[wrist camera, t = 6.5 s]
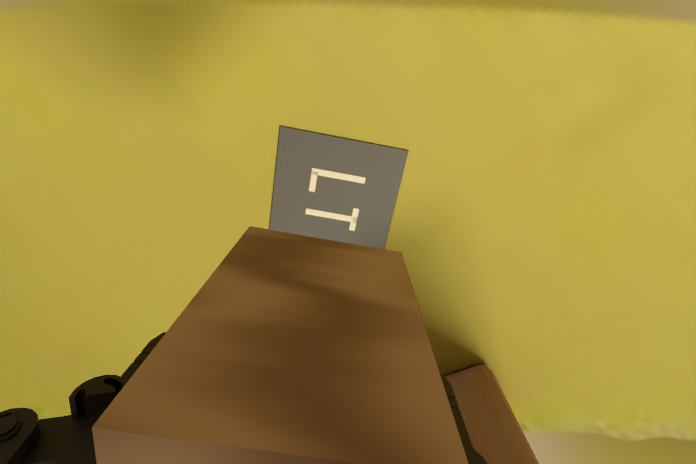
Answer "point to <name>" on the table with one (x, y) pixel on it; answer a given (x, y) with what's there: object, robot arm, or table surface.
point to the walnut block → (289, 367)
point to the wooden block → (489, 417)
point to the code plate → (335, 188)
